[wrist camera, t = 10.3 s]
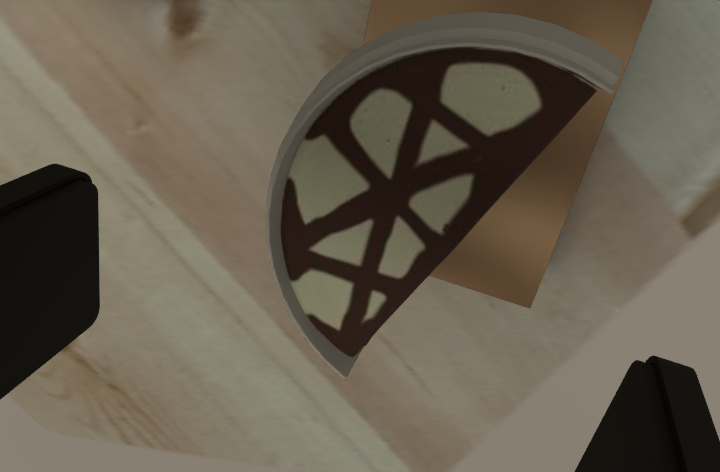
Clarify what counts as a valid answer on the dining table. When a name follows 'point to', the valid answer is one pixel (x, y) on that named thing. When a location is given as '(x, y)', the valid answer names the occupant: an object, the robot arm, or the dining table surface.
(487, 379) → the dining table surface
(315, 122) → the food container
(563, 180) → the plinth
